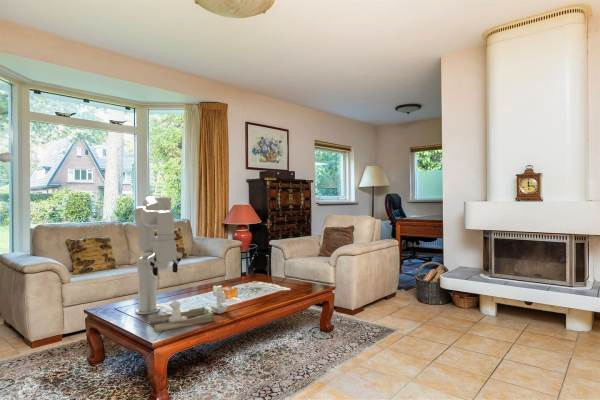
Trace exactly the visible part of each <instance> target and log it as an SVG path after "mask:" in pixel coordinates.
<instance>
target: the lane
mask: <svg viewBox="0 0 600 400" xmlns="http://www.w3.org/2000/svg"><path fill="white" fill-rule="evenodd" d="M171 315H172V313H168V314H162V315H156V316H150V317H148V324H149V325H151V324H150V323H155V322H160V321H162V322H163V324H158V325H155V330H154V333H157V332H161V331H166V330H172V329H177V328H183V327H189V326H194V325H199V324H204V323H209V322H213V321H214V312H213V311H211V310H210V309H209V308H207V307H206V306H202V307H197V308H196V307H195V308H191V309H188V310H185V311H181V317H183V316H185V317H187V319H186V320H180V321H175V322H169V320H168V319H169V317H171ZM190 317H191V318H190ZM167 321H168V322H167Z"/></svg>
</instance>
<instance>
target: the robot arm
mask: <svg viewBox="0 0 600 400" xmlns="http://www.w3.org/2000/svg"><path fill="white" fill-rule="evenodd" d="M171 209H172V201H171V198H169V197H168V196H161V195H160V196H153V195H152V196H151V195H150V196H147V197H146V198H144V199H143V201H142V206H137V207H135V209H133V218H134V221H135V224H136V226H137V231H138V235H137V236H138V249H139V252H140V253H142V254H151V255H144V256H140V257H139V258H137V260H136V269H137V281H138V282H137V283H138V289H137V290H138V303H137V304H138V305H137V306H138V307H137V308H136V309H135V313H136V314H137V315H151V314H155V313H158V312H159V311H160V307H159V306H157V278H156V277H157V276H158V275H159V272H165V271H168V270H169V268H170V262H173V263H172V273H176V274H177V273H178V271H179V270H178V267H179V266H178V265H179V263H180V262H181V260H182V259H183V253H181V252H178V250H177V243H176V240H175V238H177V234H175V214H174V212H173V211H171ZM155 227H156V235H155Z"/></svg>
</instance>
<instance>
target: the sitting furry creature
mask: <svg viewBox="0 0 600 400" xmlns="http://www.w3.org/2000/svg"><path fill="white" fill-rule="evenodd" d="M168 306H169V307H171V309H172V311H171V314H172V315H171V317H169V319H168V323H169V322H175V321H180V320H186V319H188V317H185V316H183V317H181V312H182V311H181V309H180V307H181V302H180V301H179V300H173V301H172V302H171V303H169V304H168Z"/></svg>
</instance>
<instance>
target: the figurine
mask: <svg viewBox="0 0 600 400" xmlns="http://www.w3.org/2000/svg"><path fill="white" fill-rule="evenodd" d="M222 287H223V285H221V284H220V285H213V286H212V295H213V296H214V297H215V298H216V303H215V304H212V305H210V306H209V307H210V309H211V310H212V313H213V314H218V315H219V314H223V313H225V312H226V311H227V309H228V307H229V305H228V304H225V303H226V300H227V299H226V293H225V292H222V291H223V288H222Z"/></svg>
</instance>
